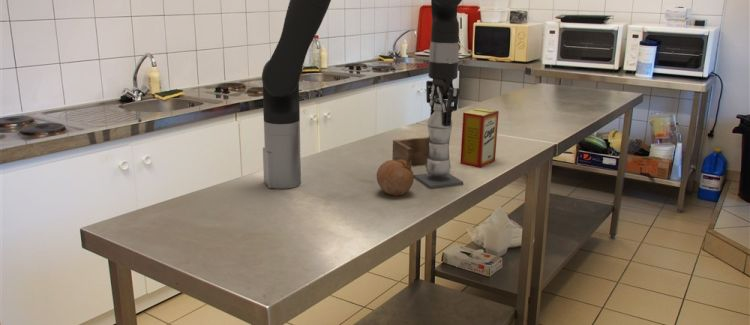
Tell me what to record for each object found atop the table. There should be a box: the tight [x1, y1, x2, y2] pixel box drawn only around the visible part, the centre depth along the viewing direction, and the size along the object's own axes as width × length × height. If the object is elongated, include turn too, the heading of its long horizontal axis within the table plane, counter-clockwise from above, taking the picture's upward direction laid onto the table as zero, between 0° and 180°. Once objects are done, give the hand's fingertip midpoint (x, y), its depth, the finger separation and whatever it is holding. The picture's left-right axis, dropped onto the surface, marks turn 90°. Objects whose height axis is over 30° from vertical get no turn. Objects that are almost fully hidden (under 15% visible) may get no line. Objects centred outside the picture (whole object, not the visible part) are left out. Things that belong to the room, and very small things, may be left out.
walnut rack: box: [391, 136, 429, 169], centre depth 178 cm, size 12×10×8 cm
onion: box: [376, 159, 415, 197], centre depth 158 cm, size 10×9×10 cm
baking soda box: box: [459, 107, 500, 169], centre depth 185 cm, size 10×6×16 cm
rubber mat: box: [413, 172, 464, 189], centre depth 169 cm, size 10×10×1 cm
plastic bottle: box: [425, 102, 453, 176], centre depth 166 cm, size 6×7×20 cm
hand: (440, 123), depth 164 cm, fingers closed on plastic bottle, 6 cm apart
